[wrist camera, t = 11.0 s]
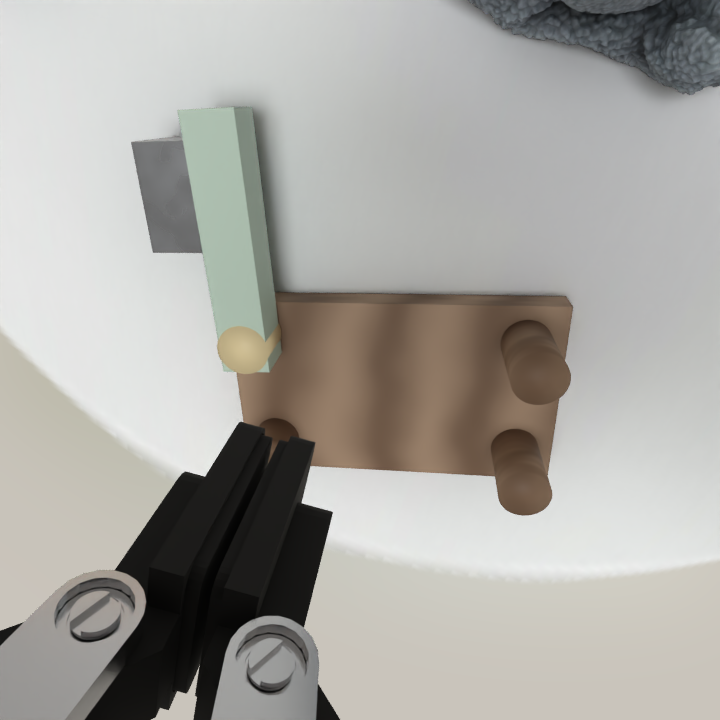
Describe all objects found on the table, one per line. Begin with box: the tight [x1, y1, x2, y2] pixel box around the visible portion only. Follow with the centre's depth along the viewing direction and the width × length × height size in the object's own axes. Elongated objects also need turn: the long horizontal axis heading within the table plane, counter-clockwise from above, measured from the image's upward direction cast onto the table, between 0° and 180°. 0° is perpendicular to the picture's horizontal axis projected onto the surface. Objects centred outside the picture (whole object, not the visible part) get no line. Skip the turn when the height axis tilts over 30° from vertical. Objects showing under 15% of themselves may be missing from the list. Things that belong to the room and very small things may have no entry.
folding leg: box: [178, 107, 282, 374], centre depth 32 cm, size 15×3×3 cm, turn 3°
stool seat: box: [237, 292, 573, 515], centre depth 35 cm, size 22×13×7 cm, turn 91°
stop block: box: [131, 137, 202, 253], centre depth 32 cm, size 3×6×5 cm, turn 1°
